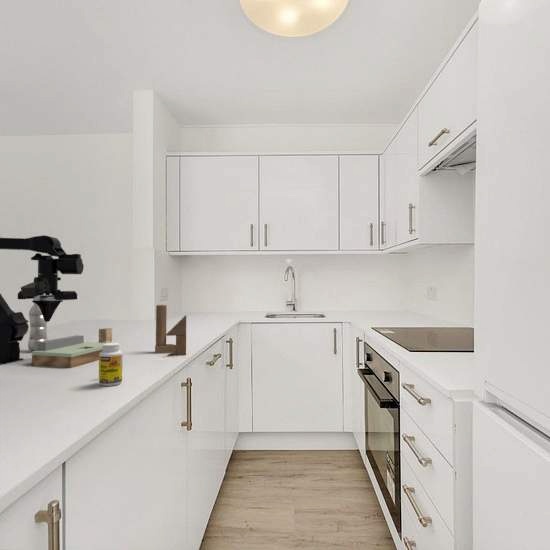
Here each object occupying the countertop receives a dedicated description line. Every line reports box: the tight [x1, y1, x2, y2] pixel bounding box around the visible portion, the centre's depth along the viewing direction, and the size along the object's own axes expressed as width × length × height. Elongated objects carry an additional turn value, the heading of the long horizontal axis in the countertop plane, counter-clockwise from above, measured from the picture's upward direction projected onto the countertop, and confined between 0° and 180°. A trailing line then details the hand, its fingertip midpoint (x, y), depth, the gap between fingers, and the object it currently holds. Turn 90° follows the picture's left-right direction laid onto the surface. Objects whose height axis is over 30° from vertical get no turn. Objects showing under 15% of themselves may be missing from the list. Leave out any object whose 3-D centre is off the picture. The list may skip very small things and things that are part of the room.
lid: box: [31, 334, 106, 357], centre depth 124 cm, size 14×20×4 cm
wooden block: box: [154, 304, 187, 357], centre depth 139 cm, size 4×11×18 cm, turn 104°
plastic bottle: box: [27, 299, 49, 352], centre depth 145 cm, size 6×7×20 cm
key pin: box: [98, 327, 113, 343], centre depth 142 cm, size 3×3×9 cm
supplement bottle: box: [98, 342, 124, 387], centre depth 99 cm, size 6×6×10 cm
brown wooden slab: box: [31, 350, 103, 369], centre depth 124 cm, size 14×20×4 cm
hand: (47, 321), depth 127 cm, fingers closed
